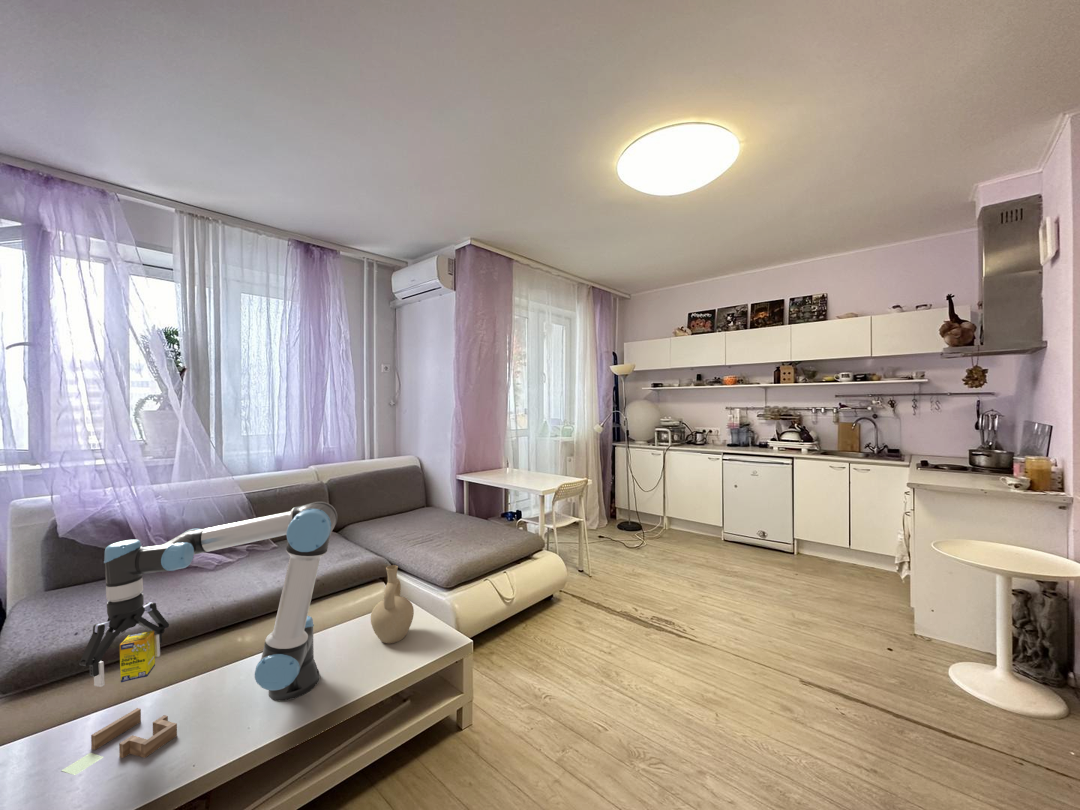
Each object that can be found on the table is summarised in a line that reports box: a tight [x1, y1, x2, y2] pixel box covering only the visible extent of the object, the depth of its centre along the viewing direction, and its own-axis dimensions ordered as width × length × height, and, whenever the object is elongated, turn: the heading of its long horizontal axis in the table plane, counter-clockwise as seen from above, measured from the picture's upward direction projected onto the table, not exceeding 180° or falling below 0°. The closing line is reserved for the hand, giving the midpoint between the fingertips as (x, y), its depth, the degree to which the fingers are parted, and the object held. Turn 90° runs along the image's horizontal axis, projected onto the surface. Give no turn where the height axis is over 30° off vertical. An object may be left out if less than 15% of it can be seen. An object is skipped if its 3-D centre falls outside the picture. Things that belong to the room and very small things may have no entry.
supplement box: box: [119, 630, 156, 683], centre depth 124 cm, size 6×6×11 cm
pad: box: [61, 752, 104, 776], centre depth 114 cm, size 10×6×1 cm, turn 74°
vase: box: [370, 564, 415, 644], centre depth 174 cm, size 17×17×30 cm
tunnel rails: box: [90, 707, 178, 759], centre depth 123 cm, size 19×11×4 cm, turn 74°
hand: (128, 670), depth 121 cm, fingers open, 13 cm apart
